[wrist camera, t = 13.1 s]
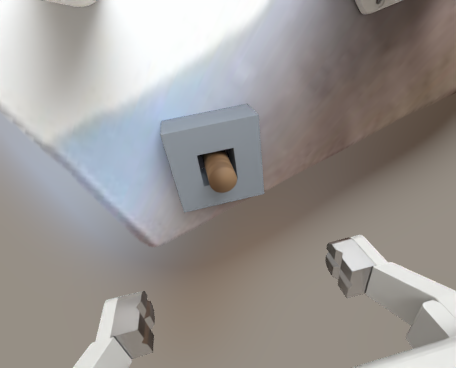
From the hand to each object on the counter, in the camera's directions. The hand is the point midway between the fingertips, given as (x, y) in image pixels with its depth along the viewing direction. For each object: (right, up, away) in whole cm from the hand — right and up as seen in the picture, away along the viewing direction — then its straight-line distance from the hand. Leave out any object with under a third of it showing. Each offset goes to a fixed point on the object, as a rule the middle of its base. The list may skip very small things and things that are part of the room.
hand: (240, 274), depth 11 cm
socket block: (-3, +10, +33) cm, 35 cm away
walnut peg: (-3, +10, +33) cm, 35 cm away
